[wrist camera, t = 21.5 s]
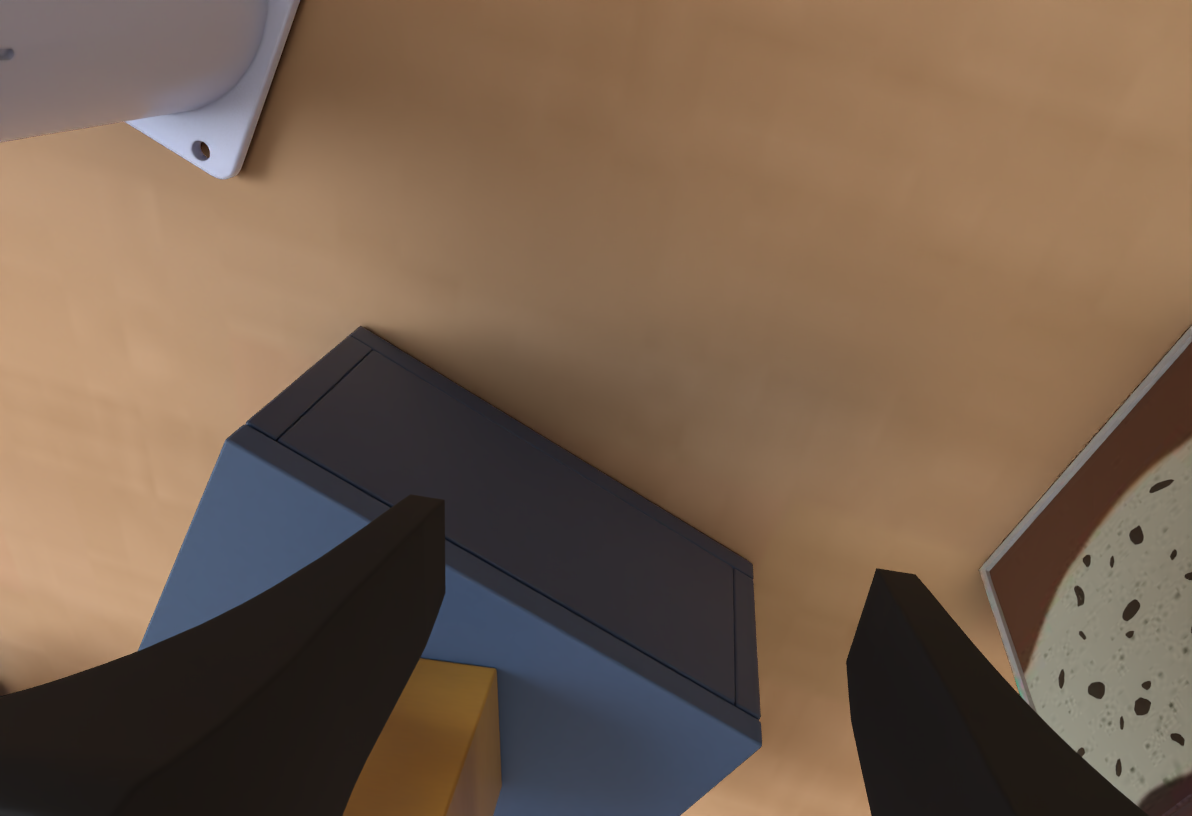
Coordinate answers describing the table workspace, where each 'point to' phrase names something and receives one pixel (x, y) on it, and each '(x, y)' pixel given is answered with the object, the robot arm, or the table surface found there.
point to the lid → (473, 647)
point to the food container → (1113, 595)
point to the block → (436, 747)
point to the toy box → (527, 509)
